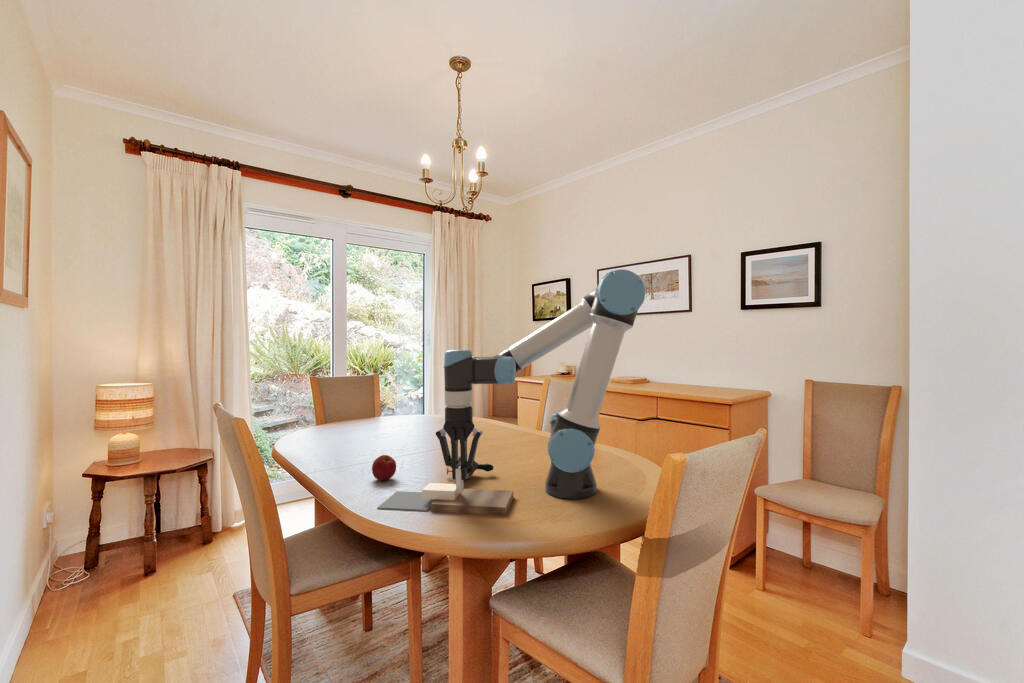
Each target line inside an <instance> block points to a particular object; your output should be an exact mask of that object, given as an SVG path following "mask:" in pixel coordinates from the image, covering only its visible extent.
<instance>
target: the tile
mask: <svg viewBox="0 0 1024 683" xmlns="http://www.w3.org/2000/svg"><path fill="white" fill-rule="evenodd" d="M459 494H460V493H456V483H443V482H441V483H440V482H438V483H437V482H429V483H428V484H427V485H425V486H424V488H423V489H422V499H441V500H455V499H456V498H457V496H458V495H459Z"/></svg>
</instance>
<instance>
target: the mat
mask: <svg viewBox="0 0 1024 683" xmlns="http://www.w3.org/2000/svg"><path fill="white" fill-rule="evenodd" d="M434 500H435V499H422V492H421V491H401V490H397V491H395V492H394V493H393V494H392V495H390V496H389V497H388V498H387V499H385V501H383V502H382V503H381V504H379V505H378V506H377V508H376V509H377V510H388V511H389V510H392V511H409V512H411V511H413V512H414V511H416V512H428V511H429V510H431V503H432V502H433V501H434Z"/></svg>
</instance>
